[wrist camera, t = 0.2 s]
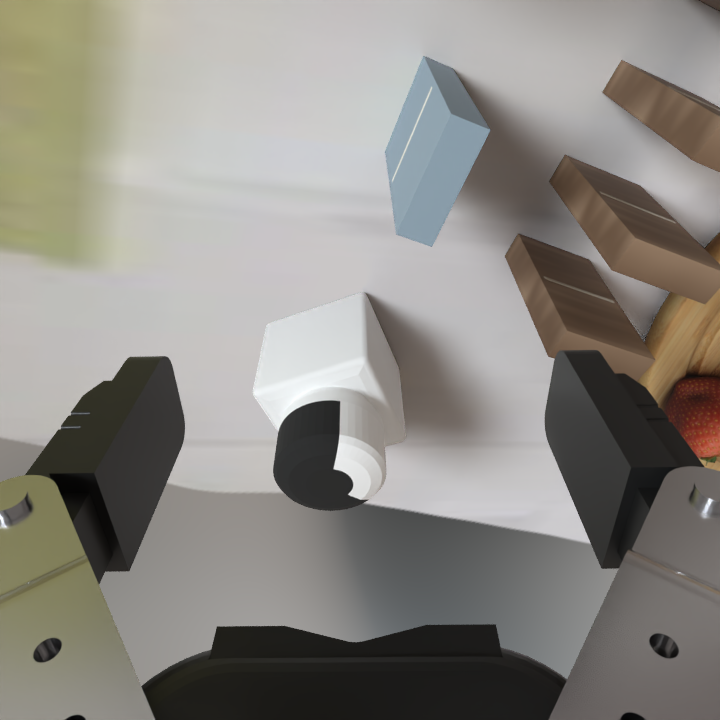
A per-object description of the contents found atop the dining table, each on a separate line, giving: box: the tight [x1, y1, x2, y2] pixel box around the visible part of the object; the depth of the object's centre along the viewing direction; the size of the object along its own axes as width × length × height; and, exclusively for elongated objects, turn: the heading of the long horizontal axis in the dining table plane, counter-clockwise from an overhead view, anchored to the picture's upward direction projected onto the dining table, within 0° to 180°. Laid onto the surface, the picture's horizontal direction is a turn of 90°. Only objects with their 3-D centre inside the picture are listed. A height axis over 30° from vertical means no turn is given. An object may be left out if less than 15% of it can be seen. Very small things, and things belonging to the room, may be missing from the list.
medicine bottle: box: [253, 292, 406, 511], centre depth 35 cm, size 7×7×12 cm
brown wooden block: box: [505, 234, 656, 381], centre depth 31 cm, size 2×5×10 cm, turn 69°
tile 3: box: [602, 60, 720, 172], centre depth 26 cm, size 2×5×10 cm, turn 69°
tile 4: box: [549, 155, 720, 304], centre depth 29 cm, size 2×5×10 cm, turn 69°
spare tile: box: [385, 56, 490, 247], centre depth 26 cm, size 2×5×10 cm, turn 159°
